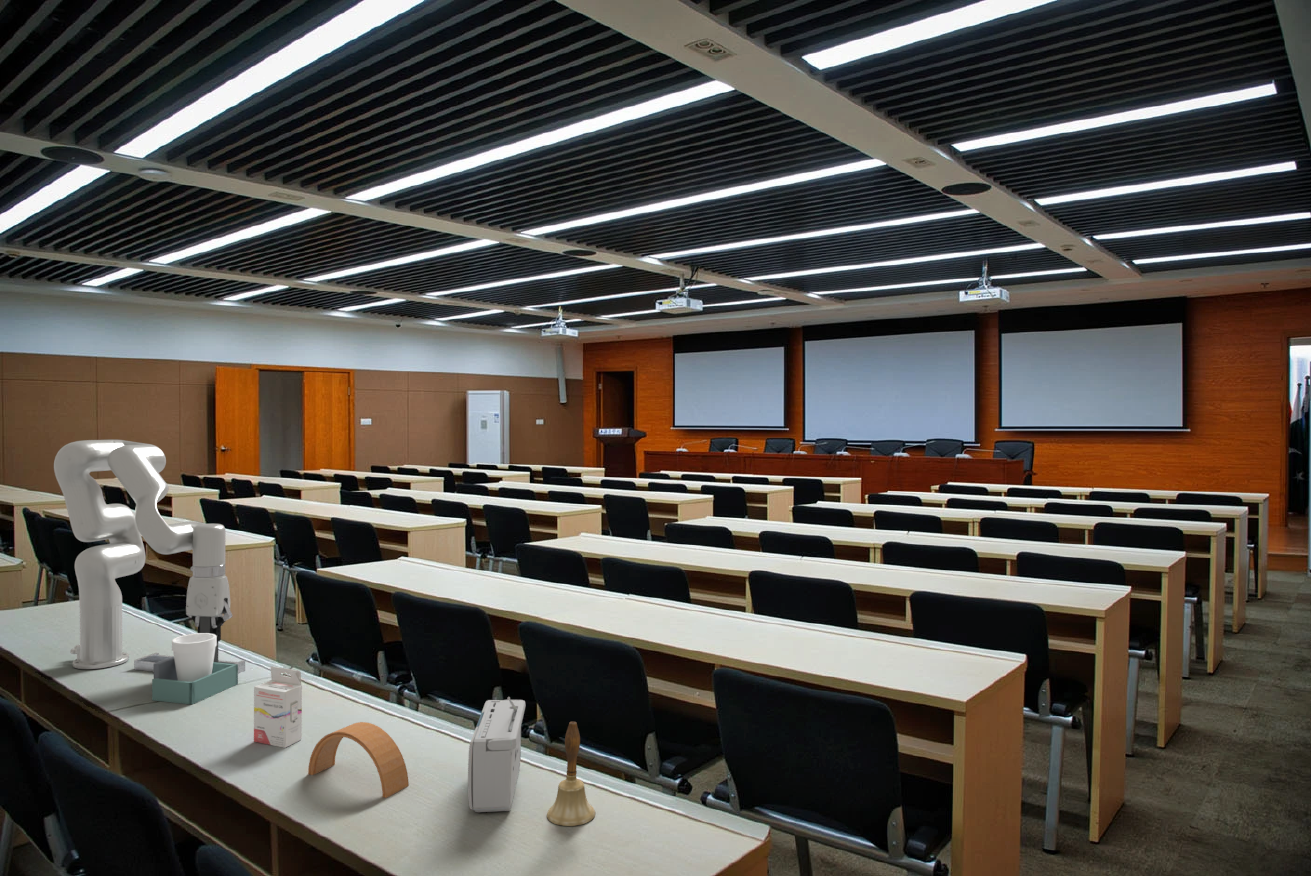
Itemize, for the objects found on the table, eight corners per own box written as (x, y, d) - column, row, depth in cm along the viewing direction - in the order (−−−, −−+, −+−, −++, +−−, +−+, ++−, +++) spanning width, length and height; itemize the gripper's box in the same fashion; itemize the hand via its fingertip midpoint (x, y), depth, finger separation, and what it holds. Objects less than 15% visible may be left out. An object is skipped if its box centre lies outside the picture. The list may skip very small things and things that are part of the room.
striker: (141, 694, 197) (141, 624, 197) (208, 668, 218) (208, 604, 218) (158, 696, 196) (158, 625, 196) (224, 669, 217) (224, 605, 217)
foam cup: (223, 685, 206) (223, 633, 205) (203, 697, 197) (203, 643, 196) (185, 684, 206) (185, 632, 205) (163, 697, 196) (163, 643, 196)
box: (152, 700, 194) (152, 679, 194) (200, 680, 209) (200, 660, 209) (192, 704, 192) (192, 683, 192) (237, 684, 207) (237, 664, 207)
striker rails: (134, 669, 217) (134, 660, 217) (155, 661, 224) (155, 652, 224) (225, 678, 211) (225, 668, 211) (245, 670, 218) (245, 660, 218)
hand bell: (547, 804, 146) (548, 714, 145) (595, 803, 147) (596, 714, 146) (545, 827, 138) (546, 732, 137) (595, 826, 138) (596, 732, 138)
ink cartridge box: (252, 742, 171) (252, 672, 170) (270, 734, 175) (270, 665, 175) (285, 748, 168) (285, 676, 168) (303, 739, 173) (303, 670, 172)
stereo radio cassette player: (483, 765, 162) (483, 663, 161) (525, 764, 162) (526, 663, 162) (466, 817, 141) (467, 701, 140) (515, 816, 141) (516, 700, 141)
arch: (384, 799, 147) (385, 743, 147) (307, 775, 156) (308, 722, 156) (408, 786, 152) (409, 733, 152) (332, 763, 161) (333, 713, 161)
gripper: (171, 572, 213) (171, 643, 214) (225, 576, 210) (225, 647, 210) (193, 567, 221) (193, 635, 221) (246, 570, 217) (246, 640, 218)
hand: (209, 640), depth 216 cm, fingers closed on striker, 3 cm apart
